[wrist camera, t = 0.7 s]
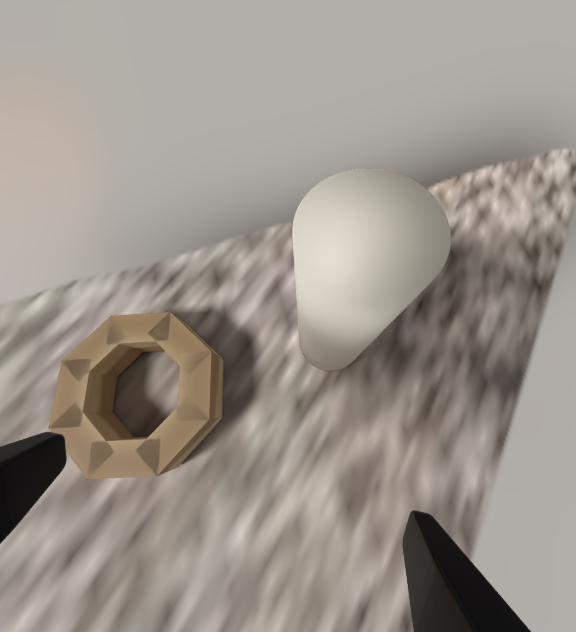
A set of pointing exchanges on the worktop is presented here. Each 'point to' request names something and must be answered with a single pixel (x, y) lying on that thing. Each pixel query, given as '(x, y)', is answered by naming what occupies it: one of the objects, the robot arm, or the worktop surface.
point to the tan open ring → (99, 392)
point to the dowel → (362, 259)
